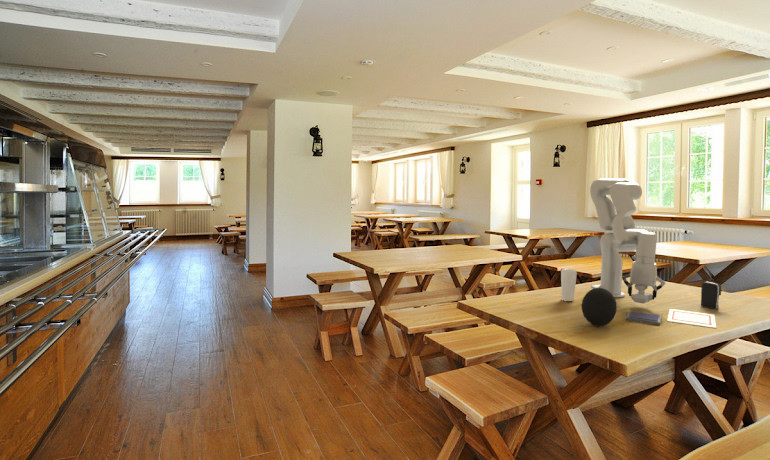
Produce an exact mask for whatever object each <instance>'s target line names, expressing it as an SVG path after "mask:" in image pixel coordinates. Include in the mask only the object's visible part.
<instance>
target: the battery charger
mask: <svg viewBox="0 0 770 460" xmlns="http://www.w3.org/2000/svg"><path fill="white" fill-rule="evenodd" d="M700 291H701V292H700V294H701V295H700V298H701V299H700V300H701V301H700V305H701V306H702V307H705V308H709V309H714V310H718V309H719V299H720V296H721V295H722V285H721V284H719V283H717V282H714V281H713V282H711V281H703V283H702V284H701V290H700Z"/></svg>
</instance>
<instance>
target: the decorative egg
mask: <svg viewBox="0 0 770 460" xmlns="http://www.w3.org/2000/svg"><path fill="white" fill-rule="evenodd" d="M617 307H618V306H617V301H616V297H614V296H613V295H612V294H611V293H610V292H609V291H608V290H606V289H603V288H594V289H593V288H591V289H590V290H588V291H587V292H586V294H584V296H583V298H582V302H581V311H582V315H583V316H584V318H585V320H586V321H587V322H588V323H589V324H590V325H593V326H595V325H596V326H595V327H604V326H607V325H608V324H610V323H611V322H612V321H613V320H614V319H615V317H616V313H617V311H618V309H617Z"/></svg>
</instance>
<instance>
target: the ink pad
mask: <svg viewBox="0 0 770 460" xmlns="http://www.w3.org/2000/svg"><path fill="white" fill-rule="evenodd" d="M662 319H663V315H661V314H655V313H648V312H640V311H633V310H629V311H628V312H627V315H626V316H625V321H627V320H629V322H633V321H635V323H640V322H641V323H642V324H647V325H653V324H654V325H656V326H661V323H662Z"/></svg>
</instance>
